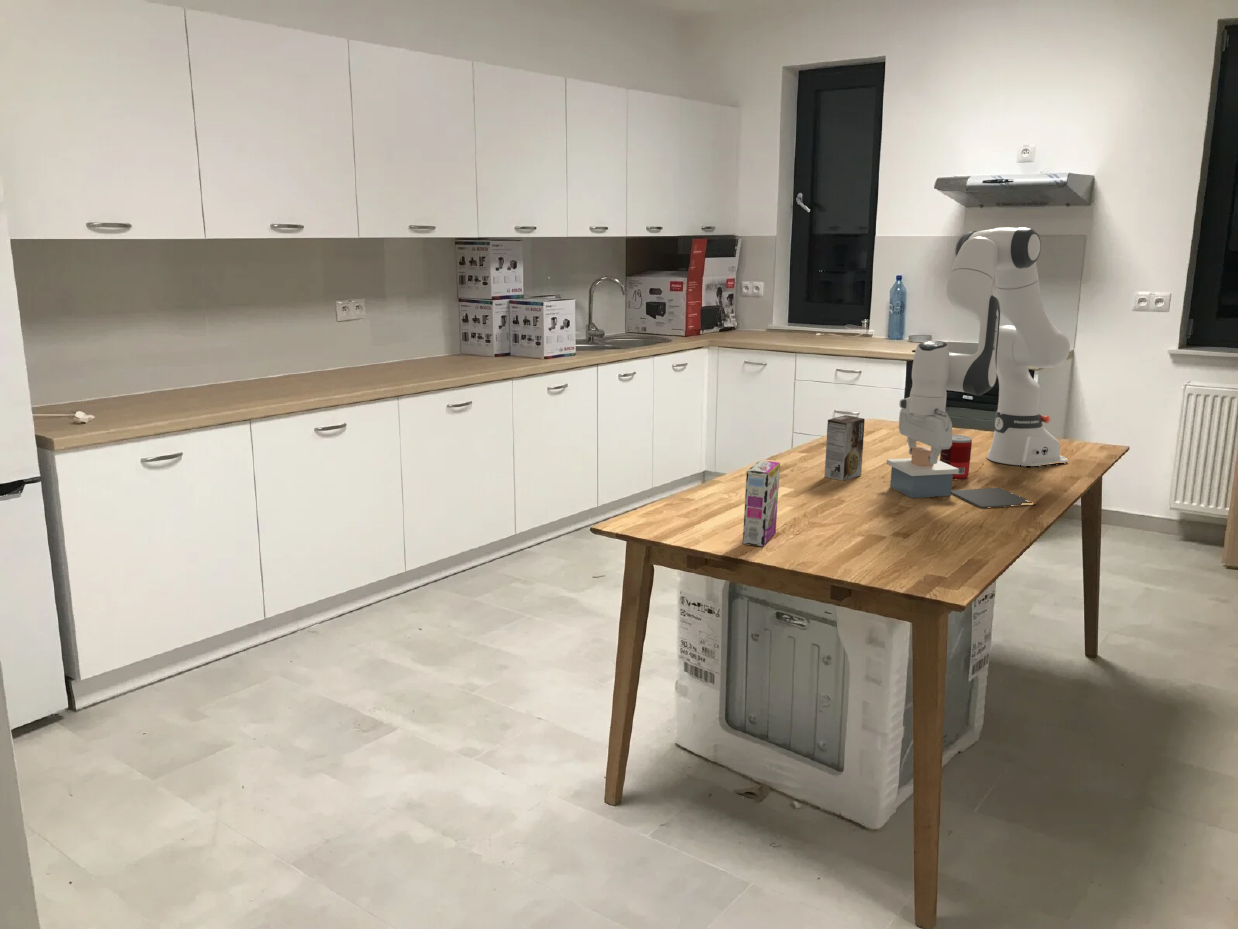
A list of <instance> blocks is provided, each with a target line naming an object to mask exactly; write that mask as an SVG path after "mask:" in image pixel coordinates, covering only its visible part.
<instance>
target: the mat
mask: <svg viewBox="0 0 1238 929" xmlns="http://www.w3.org/2000/svg"><path fill="white" fill-rule="evenodd" d="M1011 493H1012V492H1011V491H1009V490H1006V489H1004V488H1002V487H989V488H988V487H987V488H985V487H983V488H970V489H969V488H967V489H953V490H952V489H951V495H952V494H953V495H952V496H955V497H956V496H958V497H959V498H958V497H957V498H958V499H960V498H961V500H963V501H965V500H966V501H965V502H967V503H968V504H971V503H972V504H971V505H973V504H974V505H973V506H975V505H976V507H978V508H979V507H981V508H984V509H989V508H988V507H1000V508H1005V507H1004V506H1011V505H1021V504H1022V503H1032V502H1033V503H1035V502H1034V501H1032V502H1027V501H1025V500H1028V499H1027V498H1024V497H1022V496H1020V495H1018V494H1015V493H1013V494H1011ZM1019 496H1020V497H1019ZM981 508H980V509H981Z"/></svg>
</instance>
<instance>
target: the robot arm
mask: <svg viewBox="0 0 1238 929" xmlns="http://www.w3.org/2000/svg"><path fill="white" fill-rule="evenodd" d="M1041 250H1042V242H1041V238H1040V235H1039V233H1038V232H1036V231H1035V229H1033V228H1030V227H1021V226H1020V227H996V228H992V229H991V228H990V229H985V230H978V231H977V230H974V231H973V230H972V231H968V232H967V233H964V234H963V235H962V236H961V237H960V238H959V239H958V240H957V242H956V246H955V250H954V251H955V260H954V262H953V264H952V267H951V270H950V273H949V276H948V280H947V284H946V296H947V299H948V300H949V302H950V303H951V304H952V305H953V306H954V307H955V308H956V309H957V310H958V311H959V312H961V313H964V314H965V315H968V316H970V317H972V318H974V319H976V320H977V321H978V322H979V325H980V326H979V334H978V344H977V350H976V352H974V353H972V354H969V353H960V352H959V353H958V352H953V351H952V352H951V351H949V345H948V343H947V342H945V341H942V340H925V341H921V342H920V343H918V344H917V346H916V348H915V351H914V357H913V359H912V360H913V361H912V368H911V380H912V385H911V389H910V392H909V397H906V398H905V397H904V398H902V399H900V400H899V408H900V411H899V416H898V430H899V433H900V435H903V436H905V437H907V440H906V441H907V445H908V448H909V449H908V454H909V455H911V456H912V448H914V447H918V446H917V442H919V443H921V444H924V445H927V446H929V447H930V449H931V451H932V453H931V455H930V456H928V462H929V463H931V464H937V460H939V456H940V453H941V449H950V447H951V446H952V435H953V423H952V420H951V418H950V416H949V414H948V412H946V407H947V406H946V405H947V396H948V395H947V394H948V392H947V391H951V392H952V391H953V392H961V393H966V394H971V395H974V396H982V395H984V394H986V393H987V392H989V391H990V390H992V389H993V388H994V386H995V384H996V381H997V379H998V389H999V390H998V402H997V410H995V417H994V433H993V438H992V440H991V445H990V449H989V451H988V454H987V456H986V458H987V459H988V460H989V461H992V462H995V463H998V464H999V463H1000V464H1004V465H1013V466H1020V465H1021V467H1026V466H1039V467H1041V466H1040V465H1045V464H1049V463H1056V462H1068V463H1069V460H1068V458H1067V457H1065V456H1063V455H1061V444H1060V441H1059V440H1058V439H1057V438H1056V437H1055V436H1054V435H1053V434H1051V433H1050V432H1049V431H1048V430H1047V429H1046V428H1045V427H1044V426H1043V423H1044V424H1045V423H1046V424H1049V423H1050V422H1051V417H1050V416H1048V415H1045V414H1044V415H1042V414H1040V412H1039V410H1040V403H1041V395H1042V394H1041V393H1042V389H1041V386H1040V384H1039V382H1037V381H1036V380H1035V379H1034V378H1033V377H1032V375H1031V373H1030V371H1029V367H1031V368H1032V367H1033V368H1037V369H1038V368H1040V369H1048V368H1058V367H1060V366H1062V365H1063V364H1064V363H1065V362H1066V360H1067V359H1068V357H1069V355H1070V351H1071V345H1070V341H1069V338H1068V336H1066V334H1064V333H1063V332H1061V330H1060V329H1058V328H1057V327H1056V326H1055V324H1054V323H1053V321H1052V320H1051V319H1050V317H1049V316H1048V313H1047V312H1046V310H1045V307H1044V304H1043V301H1042V300H1043V298H1042V294H1041V287H1040V281H1039V280H1040V279H1039V273H1038V267H1037V261H1038V258H1039V257H1040V254H1041ZM994 282H995V287H996V288H995V289H996V296H997V297H996V296H994V292H993V285H994ZM1001 315H1002V316H1003V317H1004V318H1005V319H1006V320H1008V321H1009V322H1010V323H1011V325H1010V324H1006V325H1001V324H1000V323H1001Z"/></svg>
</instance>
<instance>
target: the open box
mask: <svg viewBox="0 0 1238 929" xmlns="http://www.w3.org/2000/svg"><path fill="white" fill-rule="evenodd" d="M890 471H891V472H890V481H889V482H890V483H889V487H890V488H891V489H893V490H895V491H897V492H899V493H901V494H903V495H904V496H907V497H909V498H911V499H913V498H914V499H916V498H932V497H933V498H934V497H935V496H937V497H948V496H949V497H950V496H952V494H951V490H952V484H953V480H952V477H953V474H942V475H923V476H911V475H909V474H906V473H904V472H902V471H900V470H898V469H896V468H894V467H892V466H891V470H890Z"/></svg>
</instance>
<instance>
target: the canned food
mask: <svg viewBox="0 0 1238 929" xmlns="http://www.w3.org/2000/svg"><path fill="white" fill-rule="evenodd" d="M972 444H973V438H972V437H970V436H968V435H962V434H952V446H951V447H950V449H941V453H940V455H939V456H940V457H939V461H942V462H944V463H946V464H949V465H951V466H953V467H956V468H958V469H959V474H953V477H952V479H963V480H966V479H968V477H969V473H970V464H971V455H972V454H971V453H972Z"/></svg>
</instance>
